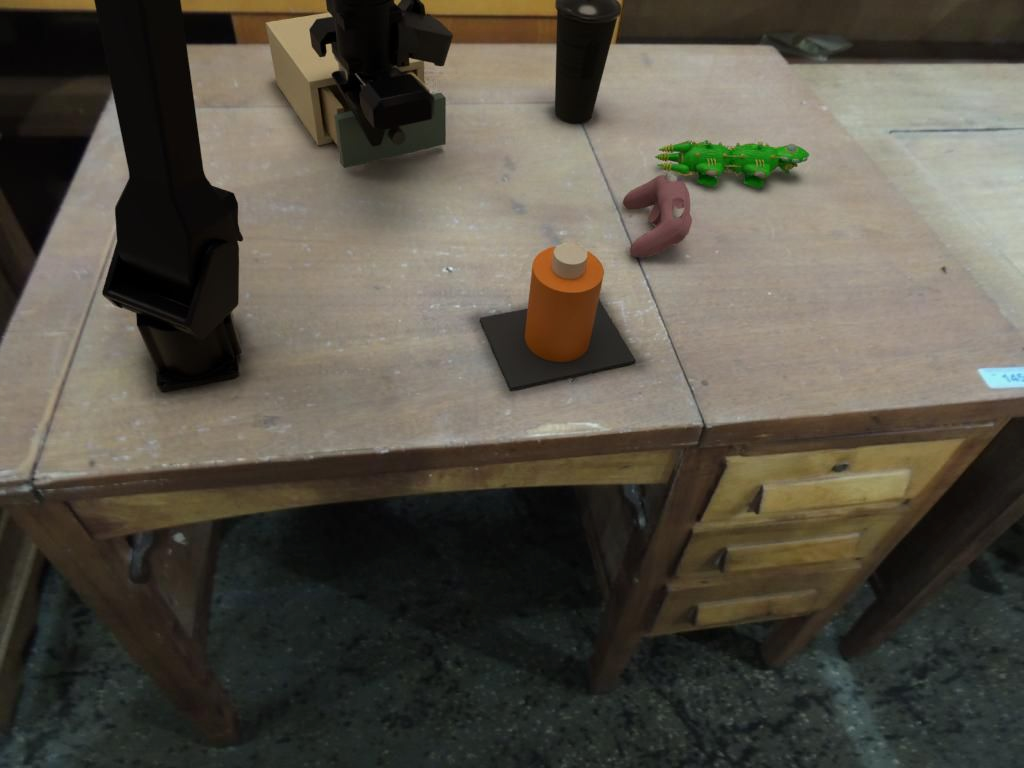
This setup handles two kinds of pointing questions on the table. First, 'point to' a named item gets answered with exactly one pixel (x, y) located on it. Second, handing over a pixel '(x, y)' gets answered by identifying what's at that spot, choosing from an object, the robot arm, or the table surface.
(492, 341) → the mat
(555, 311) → the orange bottle
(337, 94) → the drawer
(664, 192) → the video game controller
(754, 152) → the crocodile figurine
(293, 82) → the cabinet
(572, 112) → the drinking cup
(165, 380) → the robot arm
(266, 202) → the table surface
